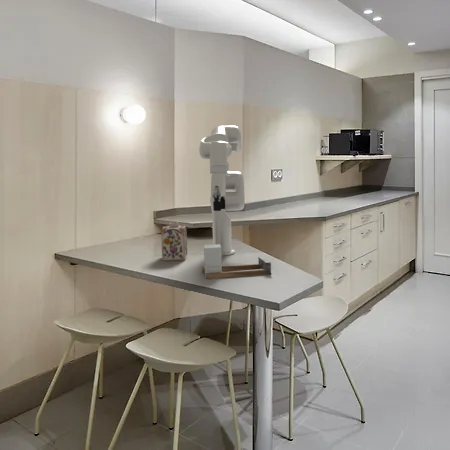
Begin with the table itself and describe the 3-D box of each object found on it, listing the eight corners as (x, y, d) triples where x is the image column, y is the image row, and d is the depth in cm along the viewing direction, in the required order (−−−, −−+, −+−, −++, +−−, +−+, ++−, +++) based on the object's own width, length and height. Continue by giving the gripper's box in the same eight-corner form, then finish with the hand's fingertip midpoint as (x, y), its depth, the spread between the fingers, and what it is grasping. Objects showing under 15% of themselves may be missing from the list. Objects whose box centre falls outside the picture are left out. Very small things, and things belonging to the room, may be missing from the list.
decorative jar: (185, 260, 243) (184, 224, 240) (161, 261, 243) (160, 224, 240) (187, 255, 254) (186, 220, 252) (165, 255, 255) (163, 221, 252)
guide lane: (201, 271, 220) (201, 260, 219) (262, 267, 225) (262, 256, 225) (206, 278, 208) (206, 267, 207) (270, 273, 214) (270, 262, 213)
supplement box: (221, 272, 218) (220, 243, 216) (222, 276, 211) (221, 247, 209) (204, 272, 218) (203, 244, 216) (204, 277, 211) (203, 247, 209)
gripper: (214, 170, 224) (215, 208, 226) (205, 170, 207) (206, 211, 209) (230, 170, 223) (231, 208, 225) (223, 170, 206) (224, 211, 208)
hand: (219, 209), depth 217 cm, fingers open, 9 cm apart
